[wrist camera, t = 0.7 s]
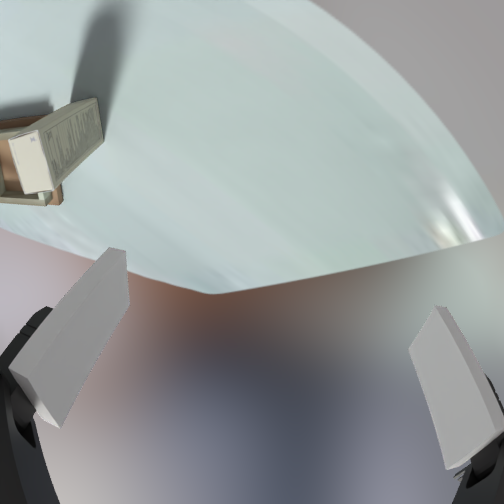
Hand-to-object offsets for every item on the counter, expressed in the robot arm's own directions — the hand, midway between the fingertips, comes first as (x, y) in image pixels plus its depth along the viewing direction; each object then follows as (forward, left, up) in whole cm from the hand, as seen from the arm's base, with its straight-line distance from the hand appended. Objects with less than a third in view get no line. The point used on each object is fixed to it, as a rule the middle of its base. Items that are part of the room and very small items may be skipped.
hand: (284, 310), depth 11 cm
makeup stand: (+6, -33, -25) cm, 42 cm away
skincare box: (+1, -21, -25) cm, 33 cm away
